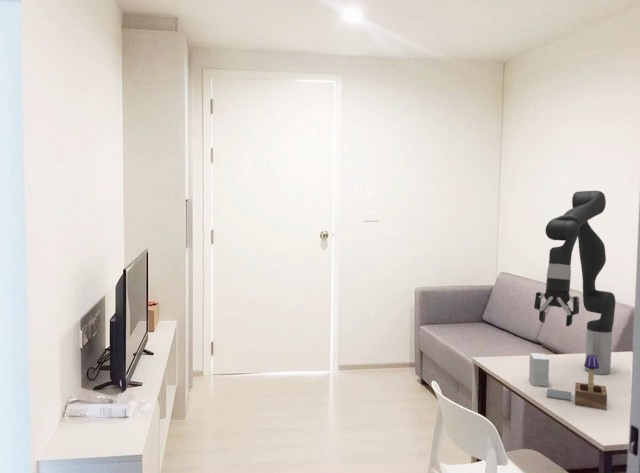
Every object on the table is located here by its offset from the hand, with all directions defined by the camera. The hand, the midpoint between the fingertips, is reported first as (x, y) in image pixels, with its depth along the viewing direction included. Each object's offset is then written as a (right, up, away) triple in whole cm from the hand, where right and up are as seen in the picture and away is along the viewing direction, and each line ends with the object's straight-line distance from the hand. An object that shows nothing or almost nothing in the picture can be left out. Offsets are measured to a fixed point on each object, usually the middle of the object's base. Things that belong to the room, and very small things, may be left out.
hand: (554, 324), depth 188 cm
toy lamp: (+13, -28, +1) cm, 30 cm away
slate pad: (+5, -27, +8) cm, 28 cm away
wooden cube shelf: (+13, -27, +1) cm, 30 cm away
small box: (+3, -26, +21) cm, 34 cm away
